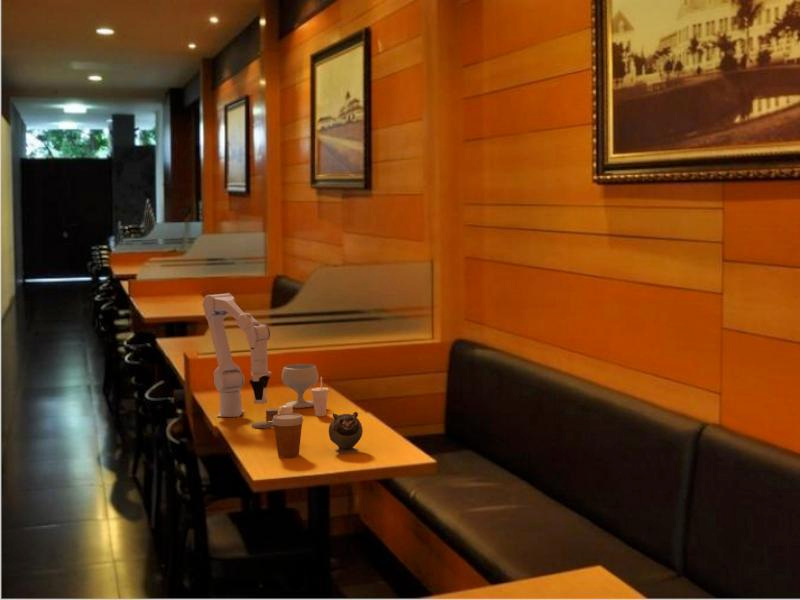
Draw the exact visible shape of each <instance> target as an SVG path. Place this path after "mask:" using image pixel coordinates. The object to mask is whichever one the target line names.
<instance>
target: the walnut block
mask: <svg viewBox="0 0 800 600" xmlns="http://www.w3.org/2000/svg"><path fill="white" fill-rule="evenodd" d="M278 409H279V408H277V407H276V408H265V415H266V416H265V420H266V421H272V420H273V416H274V415H277V414H279V413H278V412H279V410H278ZM266 421H265V422H266Z"/></svg>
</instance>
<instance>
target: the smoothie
mask: <svg viewBox="0 0 800 600" xmlns="http://www.w3.org/2000/svg"><path fill="white" fill-rule="evenodd" d="M319 378H320V387H313V388H310V393H311V394H312V395H311V396H312V401H313V403H314V406H313V408H314V409H313V410H314V415H316V416H315V417H317V416H323V417H326V416H327V406H328V398H329V397H328V396H329V395H328V394H329V392H330V389H329V388H328V387H323V376H320V377H319ZM325 415H326V416H325Z"/></svg>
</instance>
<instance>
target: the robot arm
mask: <svg viewBox="0 0 800 600" xmlns="http://www.w3.org/2000/svg"><path fill="white" fill-rule="evenodd" d="M202 301H203V302H202V307H203V311H204V316H205V319H206V320H207V323H208V328H209V331H210V335H211V341H212V345H213V348H214V353H215V355H216V356H215V357H216V361H217V365H218V366H217V367H216V368H215V370H214V371H213V378H214V379H213V384H214V387H215V388H216V390H217V392H219V413H218V414H217V416H216V417H217V418H218V417H219V418H220V417H222V418H223V417H225V418H228V417H229V418H230V417H232V418H235V417H237V418H239V417H240V416H241V415H242V414H243V413H244V412H245V410H244V409H242V394H241V391H242V388H243V387H244V384H245V375H244V374H243V373H242V370H241V366H239V365H237V363H235V362H234V361H233V357H232V353H231V349H230V348H231V347H230V345H229V340H228V337H227V333H226V329H225V328H226V327H225V324H224V320H225V318H227V317H228V316H229V315H230V316H231V317H232V318H234V319H235V320H236V326H238V327H239V328H240V329H241V330H242V331H243V332H244V333H245V334H246V339H247V341H248V347H250V376H251V377H252V379H249V380H248V381H249V384H250V386H251V388H252V390H253V396H254V395H255V399H256V400H262V398H263V389H264V387H265V388H267V386H268V383H269V380H270V378H271V376H270V375H272V371H269V370H268V369H269V367H268V365H269V364H268V363H269V362H268V341H269V339H270V338H271V330H270V327H269V325H267V324H266V323H260V322H259V321H258V320H257V319H256V318H255V317H253V316H252V313H251V312H243V310H242V309H241V307H239V306H238V304H237V303H236V299H235V297H234V296H233V295H232V294H231V293H230V292H226V293H218V294H206V295H205V297H204V299H203V300H202ZM267 389H268V388H267Z"/></svg>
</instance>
